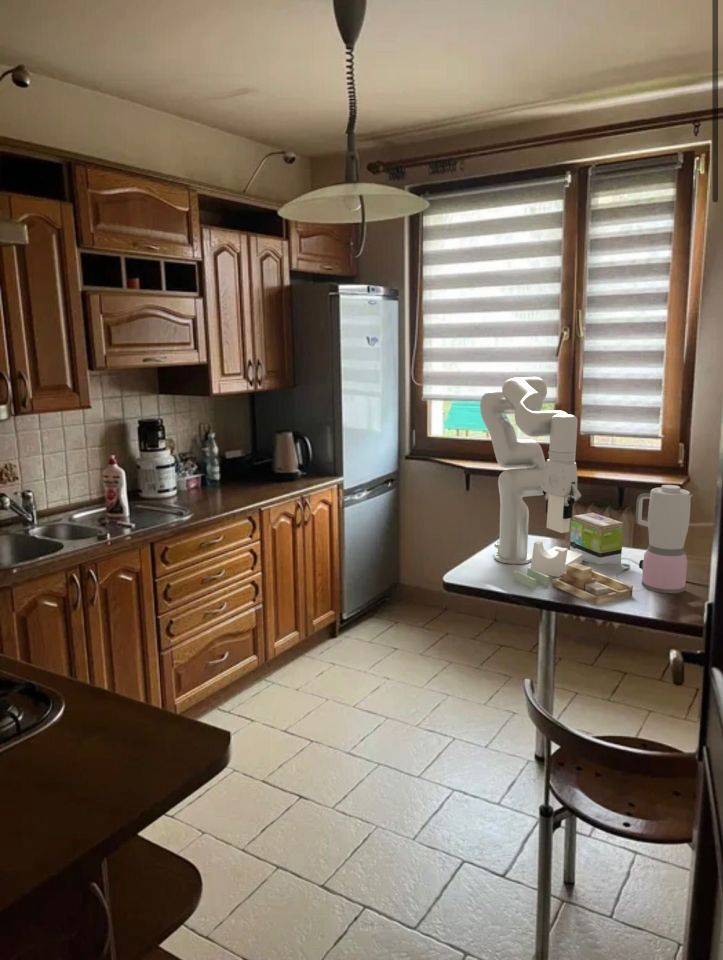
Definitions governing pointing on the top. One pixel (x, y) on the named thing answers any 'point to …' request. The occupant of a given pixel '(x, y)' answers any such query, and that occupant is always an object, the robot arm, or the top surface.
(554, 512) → the tall board
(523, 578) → the holder
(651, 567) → the blender
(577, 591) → the tray
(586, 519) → the tea box
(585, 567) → the offcut
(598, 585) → the offcut
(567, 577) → the offcut
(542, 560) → the white saddle block
